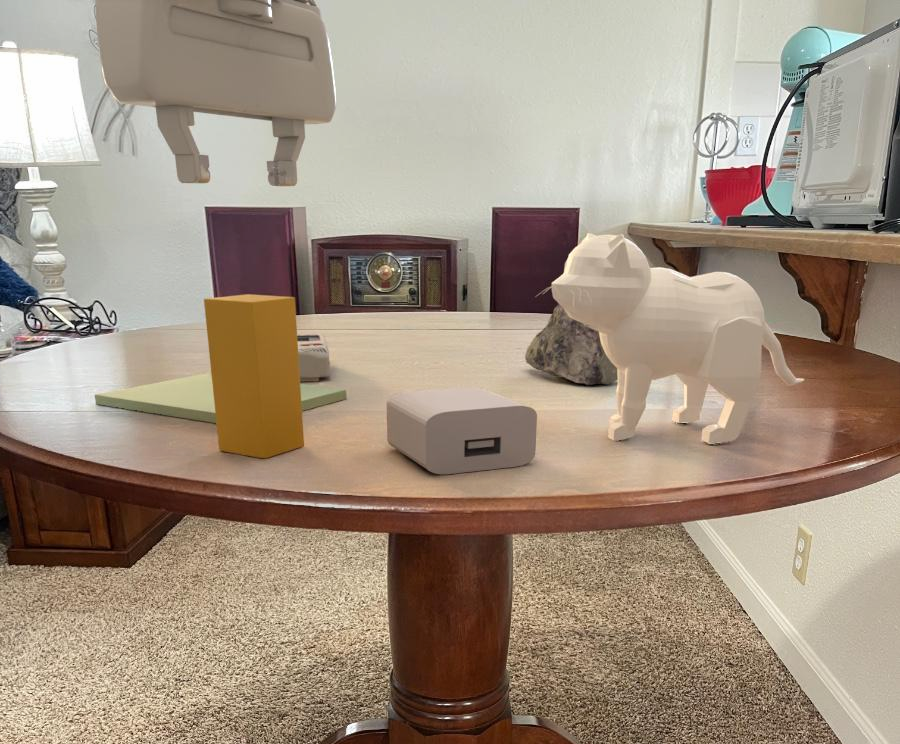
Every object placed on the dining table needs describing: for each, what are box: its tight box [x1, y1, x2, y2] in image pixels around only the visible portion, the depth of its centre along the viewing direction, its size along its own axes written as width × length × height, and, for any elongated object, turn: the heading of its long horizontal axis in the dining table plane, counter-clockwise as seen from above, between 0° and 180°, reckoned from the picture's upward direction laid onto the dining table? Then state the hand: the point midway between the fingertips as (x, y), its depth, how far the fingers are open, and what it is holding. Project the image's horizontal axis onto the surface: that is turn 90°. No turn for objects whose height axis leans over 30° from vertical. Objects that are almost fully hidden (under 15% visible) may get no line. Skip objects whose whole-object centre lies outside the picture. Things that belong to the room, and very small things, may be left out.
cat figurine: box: [535, 232, 805, 443], centre depth 77 cm, size 25×10×17 cm, turn 102°
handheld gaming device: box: [297, 333, 331, 383], centre depth 109 cm, size 9×15×4 cm, turn 10°
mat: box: [94, 372, 348, 424], centre depth 92 cm, size 20×16×1 cm
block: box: [203, 293, 305, 460], centre depth 72 cm, size 5×5×12 cm
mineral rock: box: [524, 303, 618, 386], centre depth 105 cm, size 13×11×10 cm
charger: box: [386, 386, 538, 475], centre depth 74 cm, size 5×9×15 cm
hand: (241, 184), depth 66 cm, fingers open, 8 cm apart
